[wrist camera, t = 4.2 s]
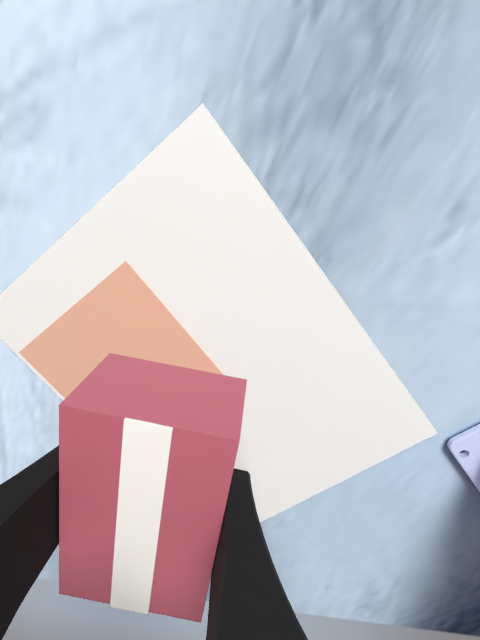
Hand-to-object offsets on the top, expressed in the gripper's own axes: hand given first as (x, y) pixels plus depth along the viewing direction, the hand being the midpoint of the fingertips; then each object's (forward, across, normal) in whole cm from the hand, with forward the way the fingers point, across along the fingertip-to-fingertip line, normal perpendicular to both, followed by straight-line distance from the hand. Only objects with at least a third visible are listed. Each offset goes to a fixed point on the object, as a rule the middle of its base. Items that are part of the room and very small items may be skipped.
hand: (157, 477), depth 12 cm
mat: (+9, 0, 0) cm, 9 cm away
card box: (+1, 0, 0) cm, 1 cm away
